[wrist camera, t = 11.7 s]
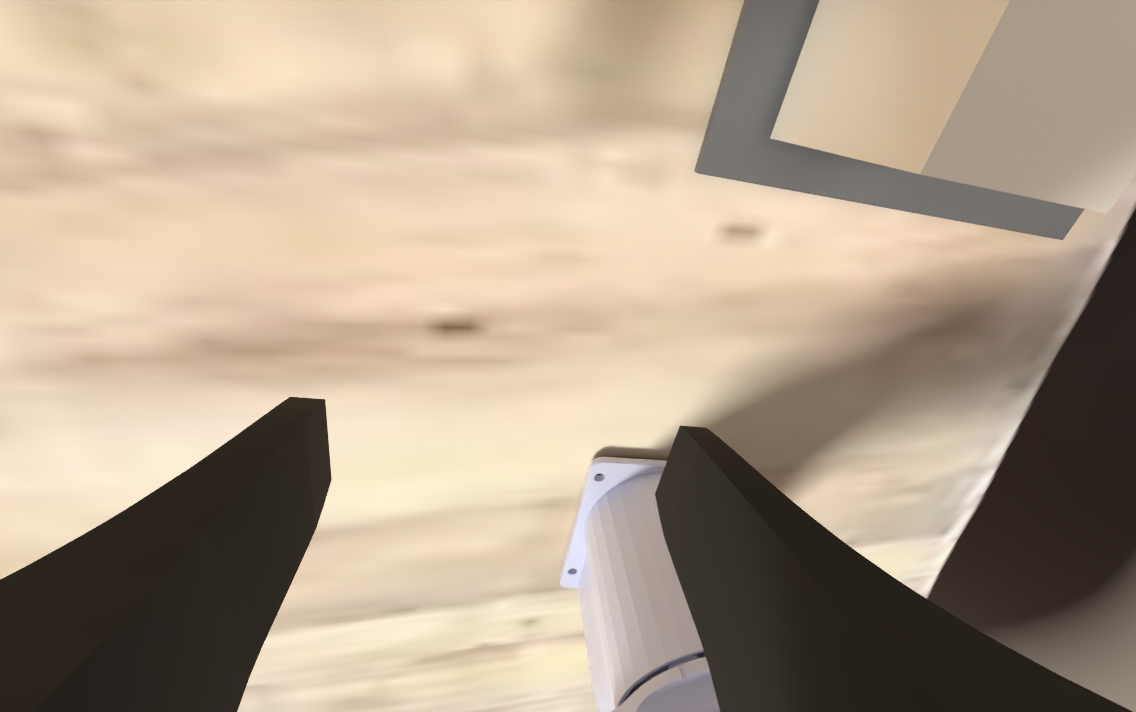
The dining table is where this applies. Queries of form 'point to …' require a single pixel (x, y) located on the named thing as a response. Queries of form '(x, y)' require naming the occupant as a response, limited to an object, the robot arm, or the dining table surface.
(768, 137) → the base board
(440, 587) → the dining table surface
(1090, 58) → the beige block
